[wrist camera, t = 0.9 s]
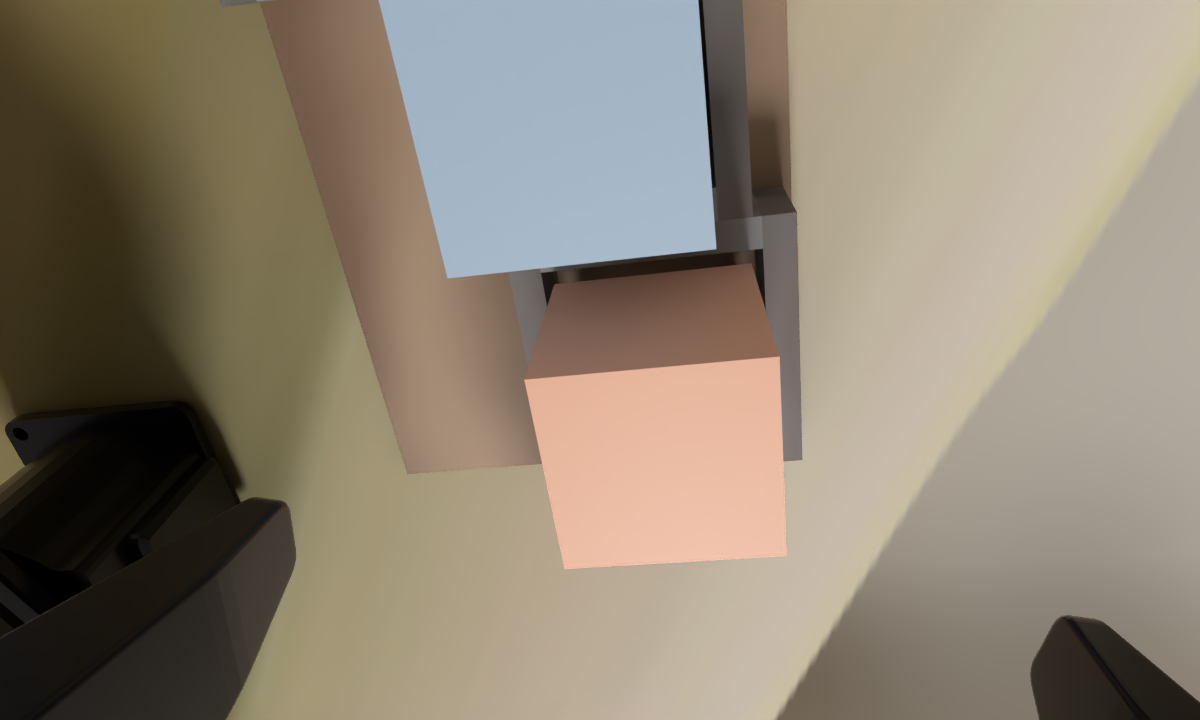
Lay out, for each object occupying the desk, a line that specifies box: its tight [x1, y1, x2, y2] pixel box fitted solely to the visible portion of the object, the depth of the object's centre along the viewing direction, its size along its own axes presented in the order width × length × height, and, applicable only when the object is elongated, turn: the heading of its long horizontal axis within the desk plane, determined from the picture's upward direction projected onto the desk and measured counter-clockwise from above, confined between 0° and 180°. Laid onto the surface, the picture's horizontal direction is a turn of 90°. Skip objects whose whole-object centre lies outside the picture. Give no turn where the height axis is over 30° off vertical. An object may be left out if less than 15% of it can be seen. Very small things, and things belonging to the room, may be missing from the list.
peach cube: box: [524, 263, 787, 569], centre depth 18 cm, size 5×5×5 cm
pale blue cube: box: [379, 0, 716, 278], centre depth 14 cm, size 5×5×5 cm
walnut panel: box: [220, 0, 802, 474], centre depth 19 cm, size 12×21×3 cm, turn 8°
